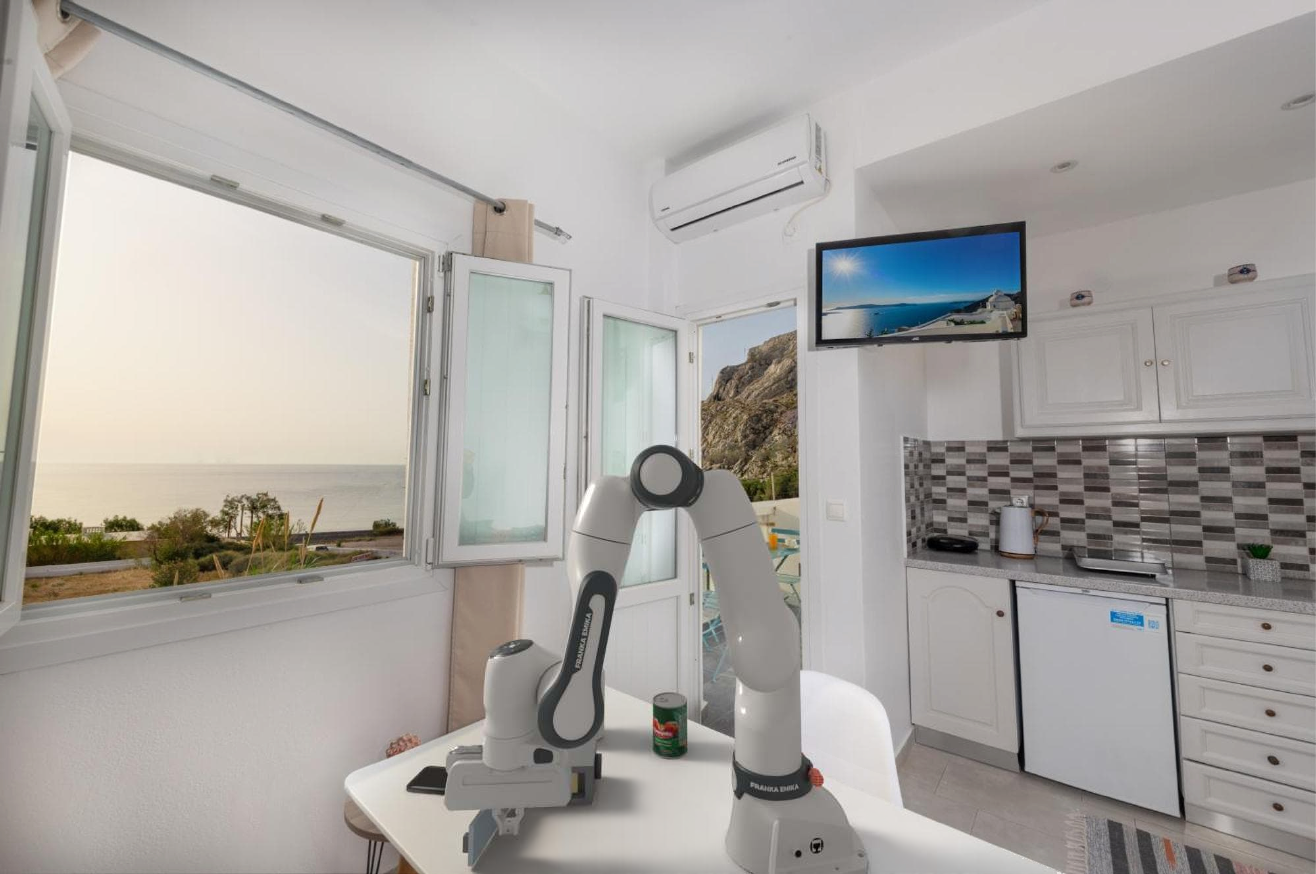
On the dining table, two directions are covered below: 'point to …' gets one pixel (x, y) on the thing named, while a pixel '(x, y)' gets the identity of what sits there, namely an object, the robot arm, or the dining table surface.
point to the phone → (429, 781)
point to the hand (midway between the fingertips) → (509, 832)
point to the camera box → (584, 773)
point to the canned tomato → (670, 725)
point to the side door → (479, 834)
